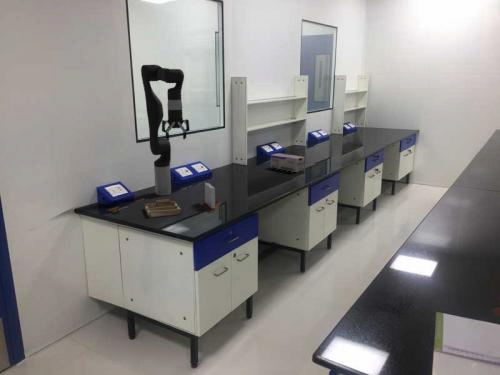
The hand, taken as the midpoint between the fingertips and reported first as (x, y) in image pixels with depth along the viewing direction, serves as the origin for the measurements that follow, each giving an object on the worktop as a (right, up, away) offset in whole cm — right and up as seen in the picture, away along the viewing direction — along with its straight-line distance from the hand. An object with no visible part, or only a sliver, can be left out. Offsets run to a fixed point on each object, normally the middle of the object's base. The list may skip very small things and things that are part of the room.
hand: (176, 139), depth 225 cm
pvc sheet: (+18, -35, +6) cm, 40 cm away
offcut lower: (-7, -37, -4) cm, 38 cm away
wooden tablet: (+17, -37, +7) cm, 41 cm away
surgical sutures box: (+68, -12, +101) cm, 122 cm away
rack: (-6, -39, -7) cm, 40 cm away
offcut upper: (-6, -34, -4) cm, 35 cm away
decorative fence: (-26, -37, +5) cm, 45 cm away
